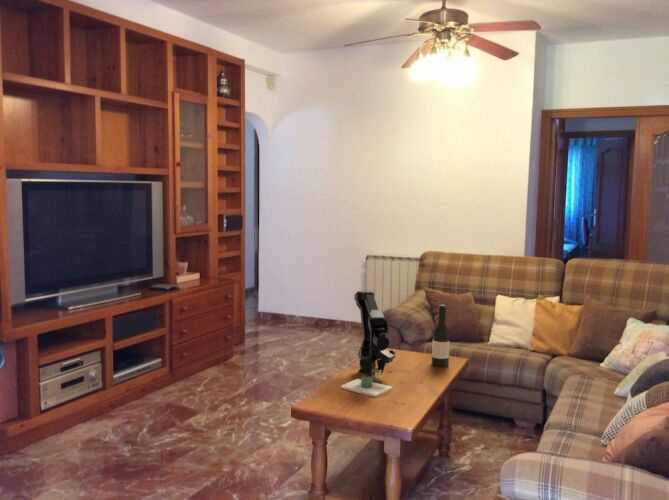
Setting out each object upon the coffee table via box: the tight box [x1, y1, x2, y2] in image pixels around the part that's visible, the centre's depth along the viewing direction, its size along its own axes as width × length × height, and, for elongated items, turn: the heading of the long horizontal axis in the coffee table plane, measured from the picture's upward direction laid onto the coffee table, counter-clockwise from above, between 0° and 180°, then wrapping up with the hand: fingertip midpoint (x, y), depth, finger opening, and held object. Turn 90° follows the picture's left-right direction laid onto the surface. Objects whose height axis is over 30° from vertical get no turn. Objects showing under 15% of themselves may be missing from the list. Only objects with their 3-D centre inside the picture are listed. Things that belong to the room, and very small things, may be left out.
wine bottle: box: [431, 304, 451, 368], centre depth 303 cm, size 8×8×30 cm
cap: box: [372, 367, 383, 383], centre depth 278 cm, size 5×6×5 cm
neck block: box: [340, 375, 393, 398], centre depth 267 cm, size 18×13×5 cm
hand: (375, 377), depth 279 cm, fingers open, 9 cm apart
